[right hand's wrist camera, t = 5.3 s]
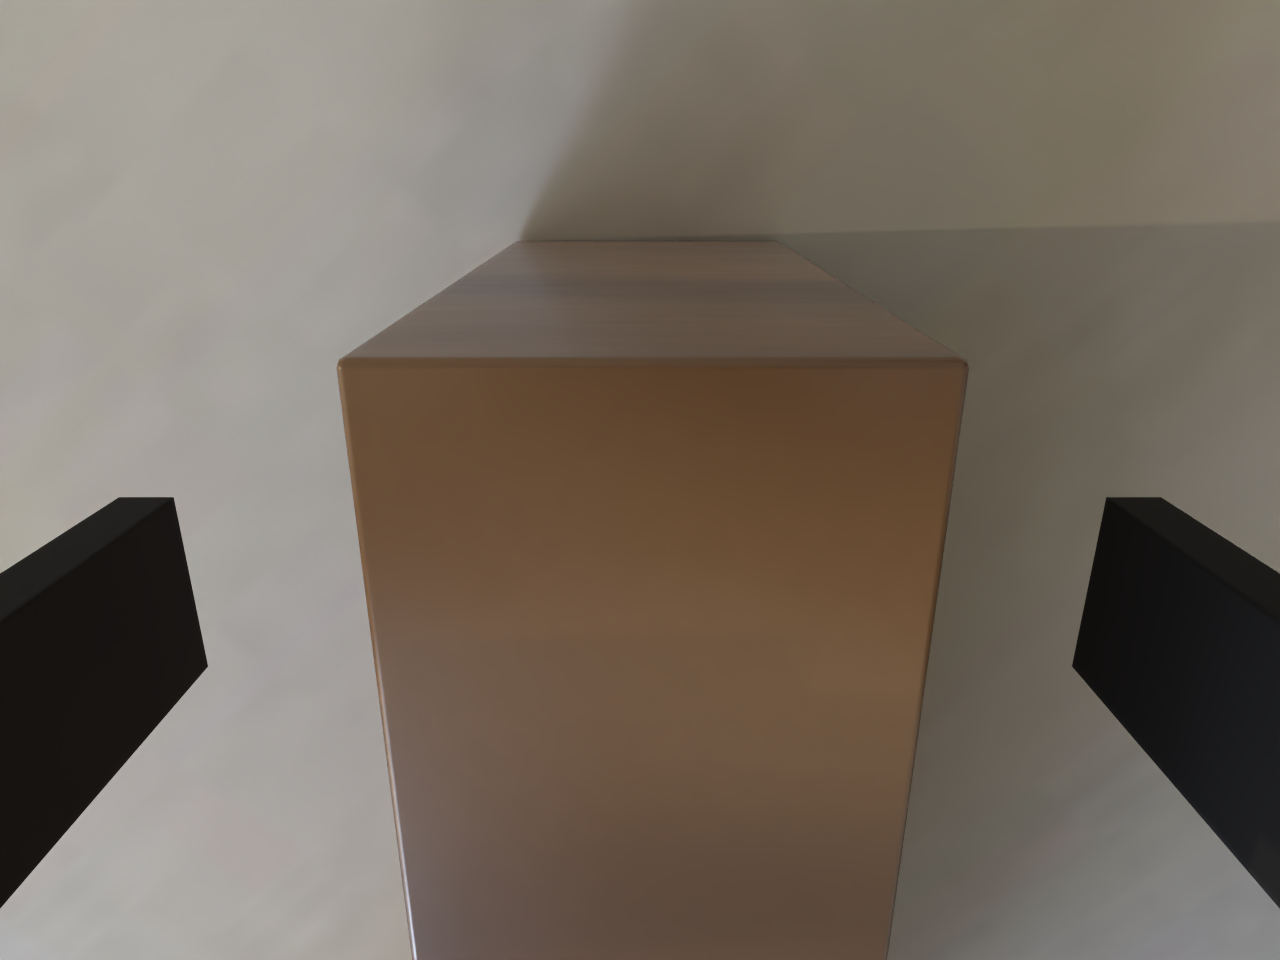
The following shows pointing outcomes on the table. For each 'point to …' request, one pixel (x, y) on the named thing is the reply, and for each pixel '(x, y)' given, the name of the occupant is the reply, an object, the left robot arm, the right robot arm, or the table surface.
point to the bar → (651, 599)
